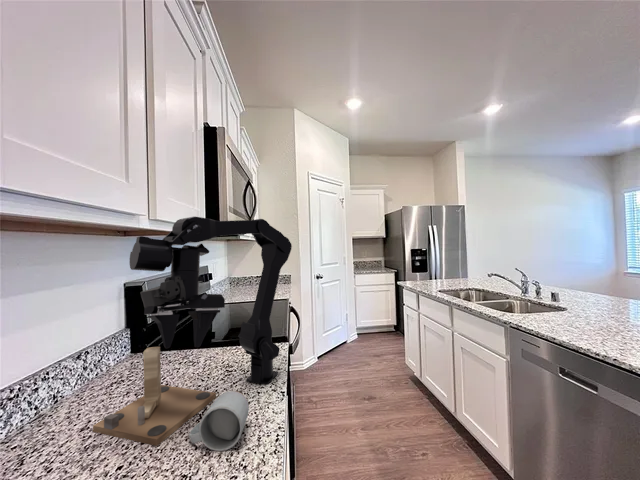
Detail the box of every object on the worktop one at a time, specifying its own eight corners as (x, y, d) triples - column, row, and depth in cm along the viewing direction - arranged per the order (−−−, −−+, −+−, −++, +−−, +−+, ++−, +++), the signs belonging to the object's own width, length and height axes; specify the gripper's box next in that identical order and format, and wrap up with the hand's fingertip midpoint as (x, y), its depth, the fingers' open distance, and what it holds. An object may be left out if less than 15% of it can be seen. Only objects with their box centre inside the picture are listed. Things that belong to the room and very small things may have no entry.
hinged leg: (150, 417, 59) (149, 358, 59) (136, 419, 59) (134, 360, 59) (161, 399, 66) (160, 346, 66) (148, 400, 66) (147, 347, 66)
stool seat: (162, 389, 74) (162, 372, 74) (215, 397, 69) (215, 379, 69) (93, 431, 58) (92, 409, 58) (156, 446, 53) (156, 421, 53)
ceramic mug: (251, 421, 60) (249, 384, 60) (242, 450, 51) (240, 406, 52) (198, 426, 59) (197, 388, 59) (181, 455, 51) (179, 411, 51)
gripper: (122, 275, 61) (114, 353, 57) (181, 261, 53) (177, 352, 49) (170, 279, 71) (166, 346, 67) (226, 268, 63) (226, 344, 59)
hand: (181, 347), depth 60 cm, fingers open, 9 cm apart
